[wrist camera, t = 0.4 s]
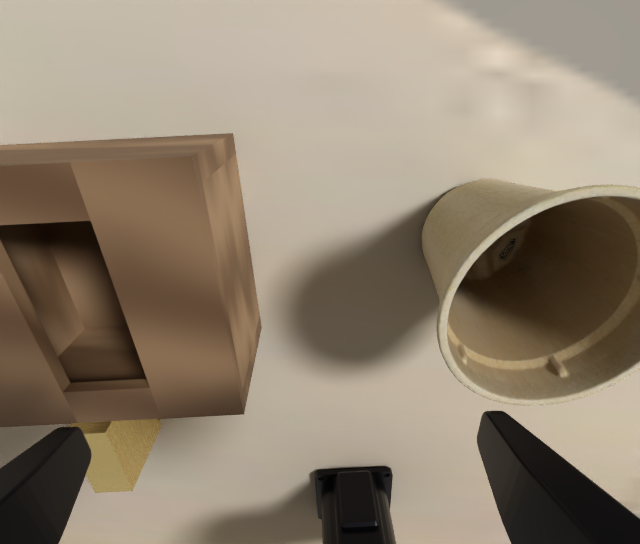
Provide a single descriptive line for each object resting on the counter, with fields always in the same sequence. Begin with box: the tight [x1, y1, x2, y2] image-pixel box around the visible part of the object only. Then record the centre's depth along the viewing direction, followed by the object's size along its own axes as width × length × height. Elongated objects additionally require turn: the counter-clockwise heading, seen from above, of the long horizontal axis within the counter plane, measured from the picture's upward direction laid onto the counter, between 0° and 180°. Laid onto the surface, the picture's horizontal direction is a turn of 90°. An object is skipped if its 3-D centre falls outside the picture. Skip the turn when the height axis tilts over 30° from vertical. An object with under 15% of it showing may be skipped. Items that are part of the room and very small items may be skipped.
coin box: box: [0, 133, 261, 427], centre depth 18 cm, size 12×12×7 cm
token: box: [70, 419, 161, 493], centre depth 24 cm, size 6×2×5 cm, turn 3°
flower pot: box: [421, 179, 640, 405], centre depth 17 cm, size 9×9×9 cm
